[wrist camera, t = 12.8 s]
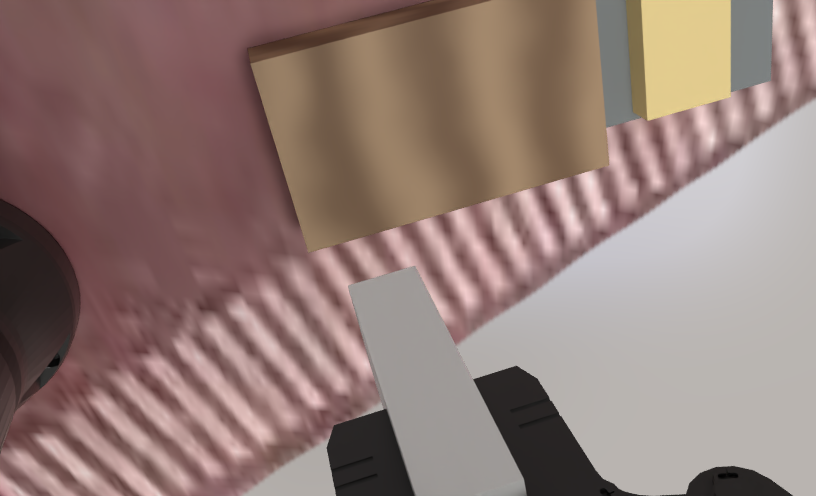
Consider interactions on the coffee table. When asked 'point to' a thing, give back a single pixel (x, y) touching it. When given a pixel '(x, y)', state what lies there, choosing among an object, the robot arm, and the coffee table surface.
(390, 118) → the deck
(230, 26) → the coffee table surface
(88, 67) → the coffee table surface
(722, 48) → the yellow rectangular block
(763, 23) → the mat
